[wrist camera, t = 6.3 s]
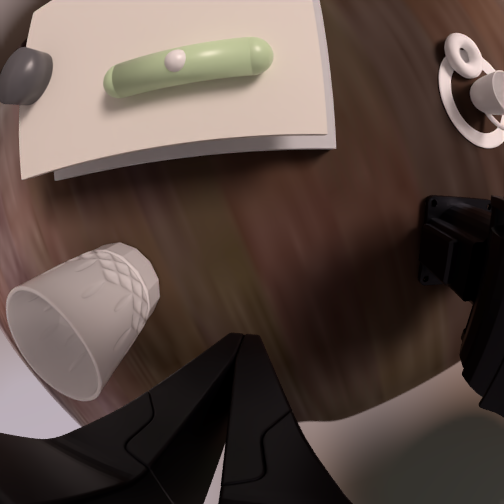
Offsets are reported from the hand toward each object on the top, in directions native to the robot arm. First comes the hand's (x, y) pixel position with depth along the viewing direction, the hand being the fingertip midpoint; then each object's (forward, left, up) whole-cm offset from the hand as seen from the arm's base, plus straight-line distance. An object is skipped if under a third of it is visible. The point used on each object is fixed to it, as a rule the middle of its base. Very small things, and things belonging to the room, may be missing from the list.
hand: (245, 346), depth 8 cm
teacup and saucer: (-18, -13, -13) cm, 26 cm away
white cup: (+12, +3, -12) cm, 17 cm away
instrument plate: (+6, -13, -7) cm, 15 cm away
